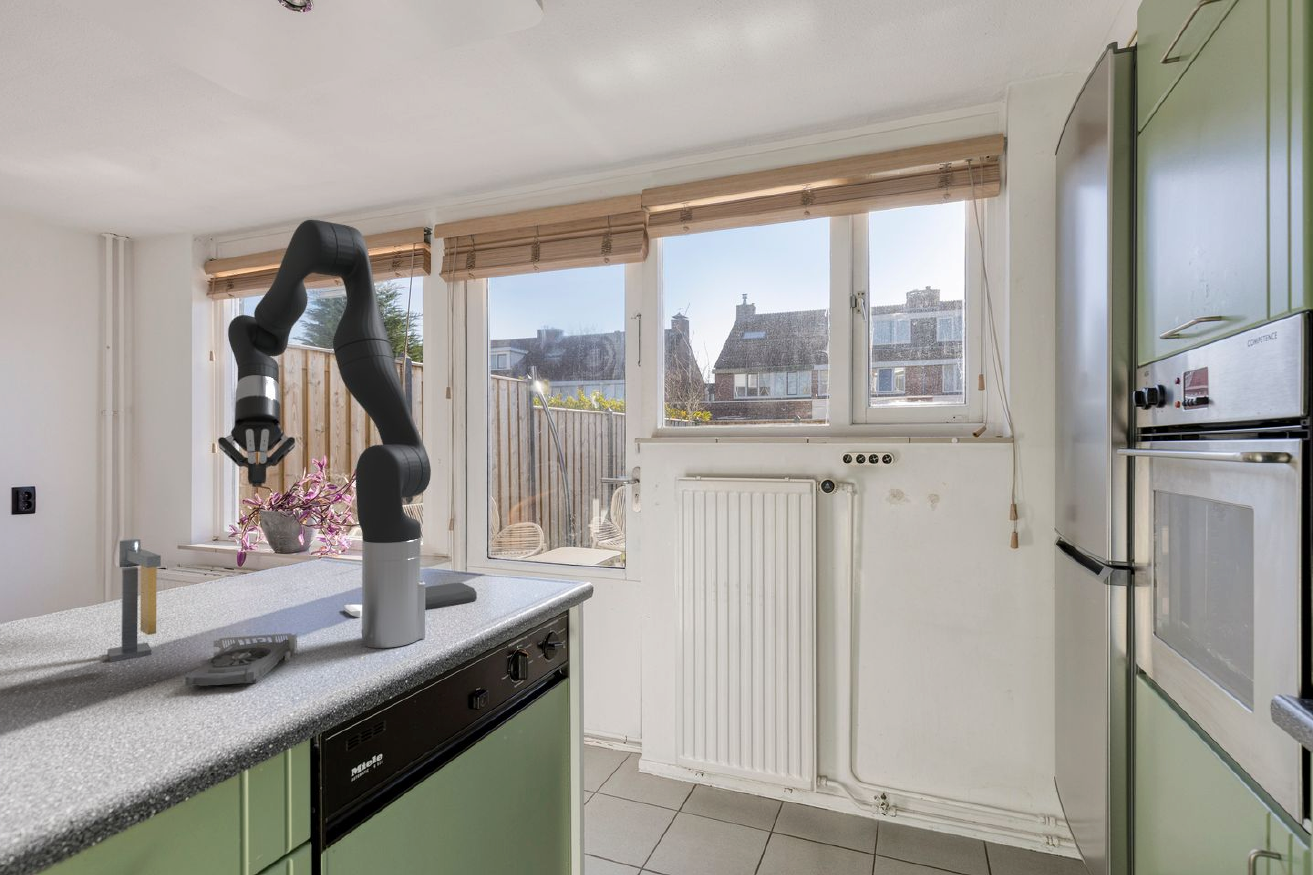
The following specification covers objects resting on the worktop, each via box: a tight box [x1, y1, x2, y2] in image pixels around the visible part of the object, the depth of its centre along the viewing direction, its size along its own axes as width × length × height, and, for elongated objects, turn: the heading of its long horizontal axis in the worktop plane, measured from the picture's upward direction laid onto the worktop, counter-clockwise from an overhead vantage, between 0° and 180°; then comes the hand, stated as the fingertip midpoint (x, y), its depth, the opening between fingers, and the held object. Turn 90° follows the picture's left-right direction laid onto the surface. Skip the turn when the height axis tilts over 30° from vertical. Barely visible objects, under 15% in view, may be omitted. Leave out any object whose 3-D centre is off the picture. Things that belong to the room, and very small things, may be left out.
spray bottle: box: [343, 582, 478, 618], centre depth 135 cm, size 3×11×24 cm
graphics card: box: [184, 632, 298, 687], centre depth 96 cm, size 17×4×12 cm
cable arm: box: [118, 538, 162, 636], centre depth 100 cm, size 13×3×13 cm, turn 52°
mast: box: [106, 566, 152, 663], centre depth 103 cm, size 5×5×14 cm
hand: (257, 484), depth 120 cm, fingers closed
